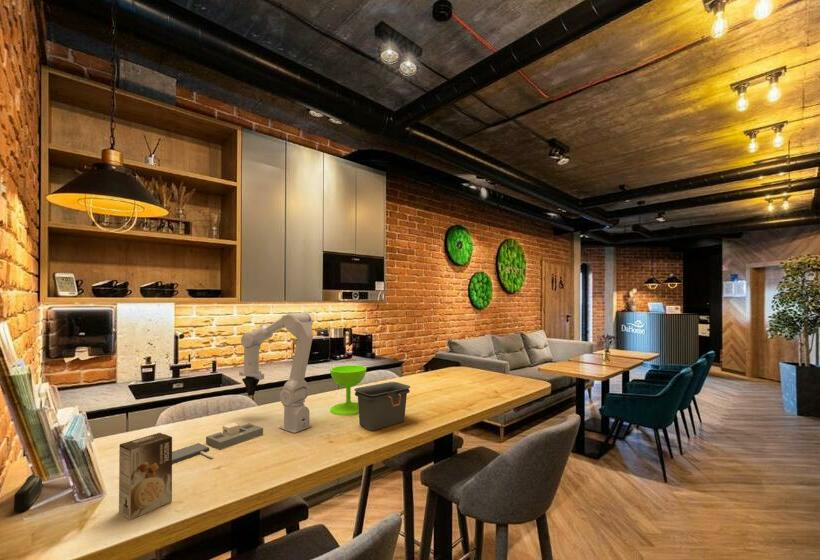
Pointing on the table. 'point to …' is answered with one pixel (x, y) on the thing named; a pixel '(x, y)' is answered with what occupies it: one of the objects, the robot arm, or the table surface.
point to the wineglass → (347, 387)
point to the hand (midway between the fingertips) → (251, 395)
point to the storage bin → (381, 404)
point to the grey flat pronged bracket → (190, 452)
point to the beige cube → (231, 429)
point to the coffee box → (145, 474)
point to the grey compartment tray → (234, 436)
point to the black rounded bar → (27, 493)
